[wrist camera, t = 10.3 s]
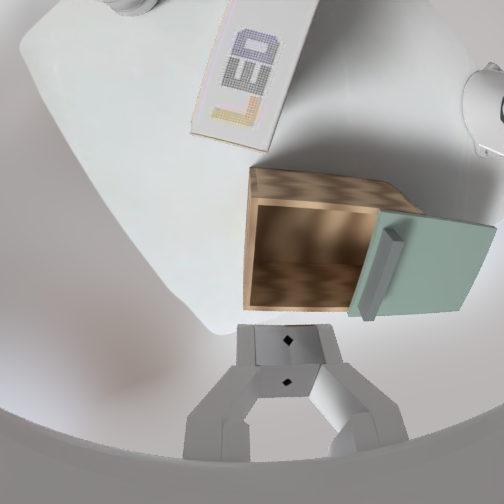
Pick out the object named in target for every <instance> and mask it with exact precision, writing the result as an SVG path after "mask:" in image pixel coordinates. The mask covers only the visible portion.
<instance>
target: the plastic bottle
mask: <svg viewBox="0 0 504 504" xmlns="http://www.w3.org/2000/svg"><path fill="white" fill-rule="evenodd" d="M98 1H101V2H104V3H106V4H107V5H109V6H110V7H111V8H112V9H113V10H114V11H115V12H116V13H117V14H119V15H122V16H129V17H134V16H139V15H142V14H144V13H146V12H148V11H149V10H150V9H151V8H152V7H154V5H155V4H156V3H157V1H158V0H98Z"/></svg>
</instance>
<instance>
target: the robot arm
mask: <svg viewBox="0 0 504 504" xmlns="http://www.w3.org/2000/svg"><path fill="white" fill-rule="evenodd" d="M462 107H463V116H464V120H465V124H466V126H467V129H468V131H469V133H470V134H471V136H472V138H473V140H474V143H475V148H476V152H477V155H478V156H480V157H483V158H497V159H504V72H503V71H502V70H501V69H500V68H499V67H498V66H497V65H496V64H495V63H488V65H487V66H486V67H485V69H484V70H481V71H478V72H476V73H474V74H473V75H472V76H471V77H470V78H469V79H468V81H467V83H466V85H465V88H464V92H463V100H462ZM236 360H237V361H236V366H231V367H230V368H229V369H228V371H227V372H226V373H225V374H224V375H223V377H222V378H221V379H220V380H219V381H218V382H217V384H216V385H215V386H214V387H213V388H212V389H211V391H210V392H209V393H208V394H207V395H206V396H205V397H204V399H203V400H202V401H201V402H200V403H199V405H197V407H196V408H195V409H194V410H193V411H192V412H191V413H190V414H189V415H188V417H187V423H186V432H185V442H184V450H183V459H180V458H171V457H164V456H157V455H150V454H144V453H139V452H134V451H129V450H124V449H119V448H114V447H110V446H106V445H102V444H98V443H94V442H91V441H87V440H84V439H80V438H77V437H73V436H70V435H67V434H64V433H61V432H58V431H55V430H53V429H50V428H47V427H44V426H42V425H39V424H37V423H34V422H32V421H29V420H26V419H24V418H22V417H20V416H17V415H15V414H13V413H11V412H8V411H6V410H4V409H2V408H0V504H504V404H502V405H500V406H498V407H495V408H493V409H491V410H489V411H487V412H485V413H483V414H480V415H478V416H476V417H474V418H471V419H469V420H466V421H464V422H462V423H459V424H456V425H454V426H451V427H448V428H445V429H443V430H440V431H437V432H434V433H431V434H428V435H425V436H421V437H419V438H415V439H411V440H409V438H408V435H407V431H406V428H405V425H404V422H403V419H402V416H401V413H400V410H399V407H398V405H397V404H396V403H395V402H393V401H392V400H391V399H390V398H389V397H387V396H386V395H385V394H384V393H383V392H381V391H380V390H379V389H378V388H377V387H376V386H374V385H373V384H372V383H371V382H370V381H369V380H367V379H366V378H365V377H364V376H363V375H361V374H360V373H359V372H358V371H357V370H356V369H354V368H353V367H352V366H351V365H350V364H349V363H343V360H342V357H341V354H340V350H339V347H338V344H337V340H336V337H335V334H334V331H333V327H332V326H331V324H316V325H246V324H238V325H237V358H236ZM302 396H303V397H305V396H309V399H310V400H311V401H312V402H313V403H314V405H315V406H316V407H317V408H318V409H319V411H320V412H321V413H322V414H323V415H324V416H325V418H326V419H327V420H328V421H329V422H330V424H331V425H332V426H333V427H334V428H335V429H336V431H337V432H338V433H339V434H338V435H337V436H336V438H335V439H334V440H333V441H332V443H331V444H330V445H329V447H328V448H327V449H328V455H329V457H323V458H315V459H306V460H294V461H278V462H250V438H249V425H248V424H247V423H245V422H244V419H245V418H246V416H247V414H248V413H249V411H250V410H251V408H252V407H253V405H254V404H255V402H256V401H257V398H274V397H302Z"/></svg>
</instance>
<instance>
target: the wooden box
mask: <svg viewBox="0 0 504 504" xmlns="http://www.w3.org/2000/svg"><path fill="white" fill-rule="evenodd" d="M379 209H380V210H389V211H397V212H405V213H412V214H420V215H426V214H425V213H424V212H422V211H421V210H420V209H419V208H418V207H417V206H416V205H415V204H413V203H412V202H411V201H410V200H409V199H408V198H406V197H405V196H404V195H403V194H402V193H401V192H399V191H398V190H397V189H396V188H394V187H393V186H392V185H391V184H390V183H388V182H383V181H376V180H369V179H362V178H355V177H347V176H340V175H331V174H322V173H313V172H303V171H292V170H280V169H266V168H251V167H250V171H249V185H248V200H247V215H246V230H245V246H244V270H243V310H256V311H301V312H302V311H303V312H305V311H306V312H340V311H342V312H343V311H344V312H345V311H348V310H349V307H350V304H351V301H352V298H353V295H354V292H355V289H356V286H357V283H358V280H359V277H360V274H361V271H362V268H363V265H364V262H365V258H366V255H367V252H368V248H369V245H370V241H371V238H372V234H373V231H374V227H375V223H376V220H377V216H378V212H379Z"/></svg>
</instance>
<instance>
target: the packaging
mask: <svg viewBox="0 0 504 504" xmlns="http://www.w3.org/2000/svg"><path fill="white" fill-rule="evenodd" d="M319 2H320V0H229V1H228V4H227V7H226V9H225V12H224V15H223V18H222V20H221V23H220V26H219V29H218V32H217V35H216V38H215V41H214V44H213V47H212V50H211V53H210V56H209V60H208V63H207V66H206V69H205V73H204V76H203V79H202V83H201V86H200V90H199V93H198V97H197V101H196V104H195V108H194V112H193V116H192V120H191V132H190V134H191V135H192V136H197V137H201V138H206V139H210V140H214V141H218V142H222V143H226V144H230V145H234V146H238V147H242V148H245V149H249V150H253V151H256V152H260V153H263V154H268V152H269V148H270V145H271V142H272V139H273V136H274V133H275V130H276V127H277V124H278V121H279V118H280V115H281V112H282V109H283V106H284V103H285V100H286V97H287V94H288V91H289V88H290V85H291V82H292V79H293V76H294V74H295V71H296V68H297V65H298V62H299V59H300V56H301V53H302V50H303V47H304V44H305V42H306V39H307V36H308V33H309V30H310V27H311V25H312V22H313V19H314V16H315V13H316V10H317V8H318V5H319Z"/></svg>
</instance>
